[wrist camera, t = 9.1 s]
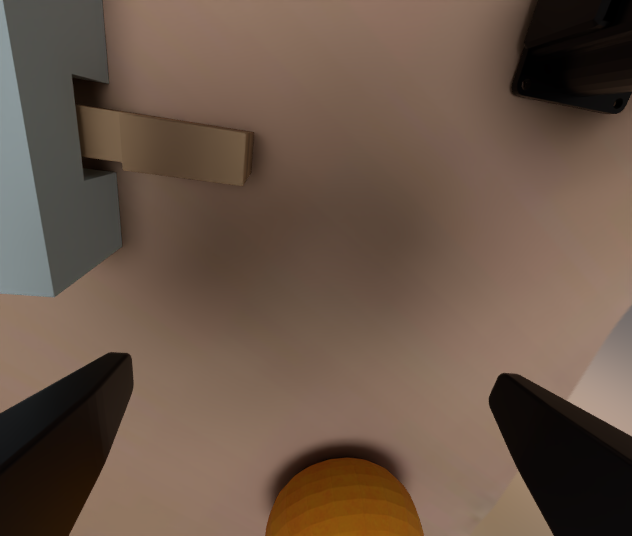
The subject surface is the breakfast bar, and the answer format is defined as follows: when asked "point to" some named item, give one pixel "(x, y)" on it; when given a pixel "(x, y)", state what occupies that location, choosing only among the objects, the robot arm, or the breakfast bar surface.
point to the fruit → (344, 502)
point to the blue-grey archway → (50, 148)
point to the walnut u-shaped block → (165, 145)
